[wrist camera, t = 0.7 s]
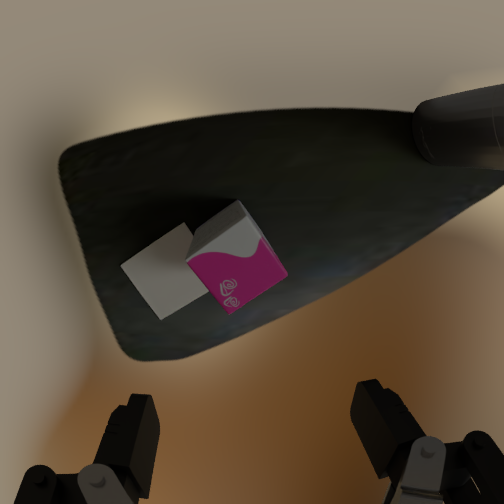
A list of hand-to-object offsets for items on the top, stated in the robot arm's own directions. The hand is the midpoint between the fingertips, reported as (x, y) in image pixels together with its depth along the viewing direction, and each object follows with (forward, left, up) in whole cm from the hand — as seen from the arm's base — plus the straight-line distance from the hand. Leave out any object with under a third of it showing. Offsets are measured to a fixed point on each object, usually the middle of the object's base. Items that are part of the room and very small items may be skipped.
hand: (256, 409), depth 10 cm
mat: (+7, -1, -24) cm, 25 cm away
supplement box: (-1, -1, -24) cm, 24 cm away
